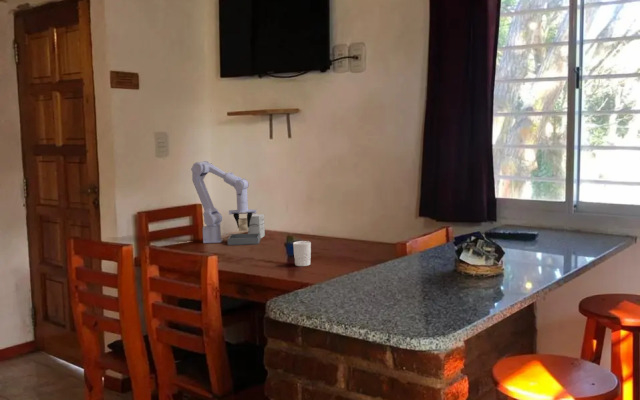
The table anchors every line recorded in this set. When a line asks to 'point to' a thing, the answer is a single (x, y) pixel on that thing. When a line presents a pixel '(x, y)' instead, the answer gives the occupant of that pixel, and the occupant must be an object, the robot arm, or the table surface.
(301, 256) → the white cup
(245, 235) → the serving tray
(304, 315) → the table surface
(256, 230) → the supplement box
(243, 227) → the birch block
